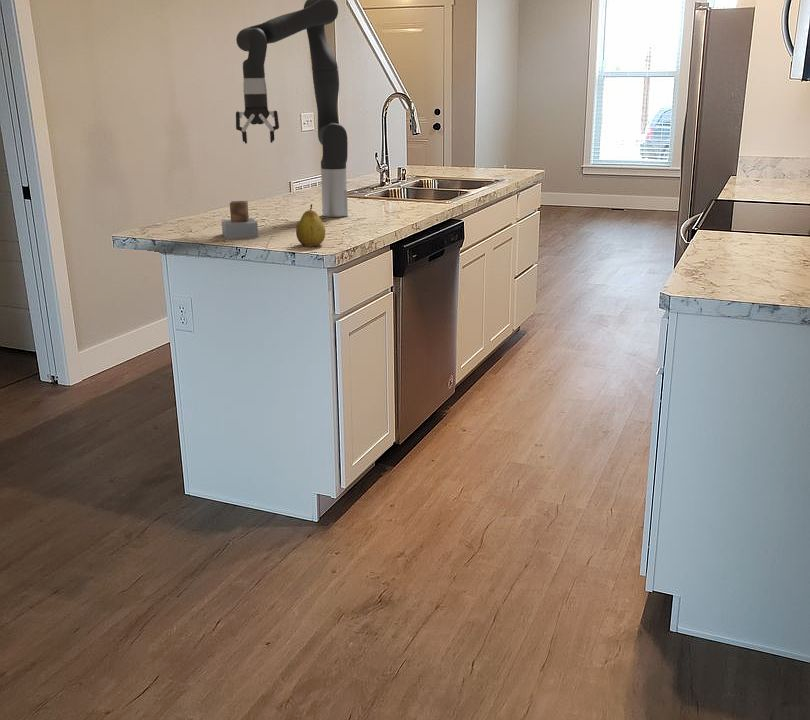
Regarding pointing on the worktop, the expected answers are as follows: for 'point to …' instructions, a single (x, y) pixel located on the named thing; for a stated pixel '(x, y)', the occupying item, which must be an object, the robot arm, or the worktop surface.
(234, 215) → the walnut block
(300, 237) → the fruit
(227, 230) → the base block
